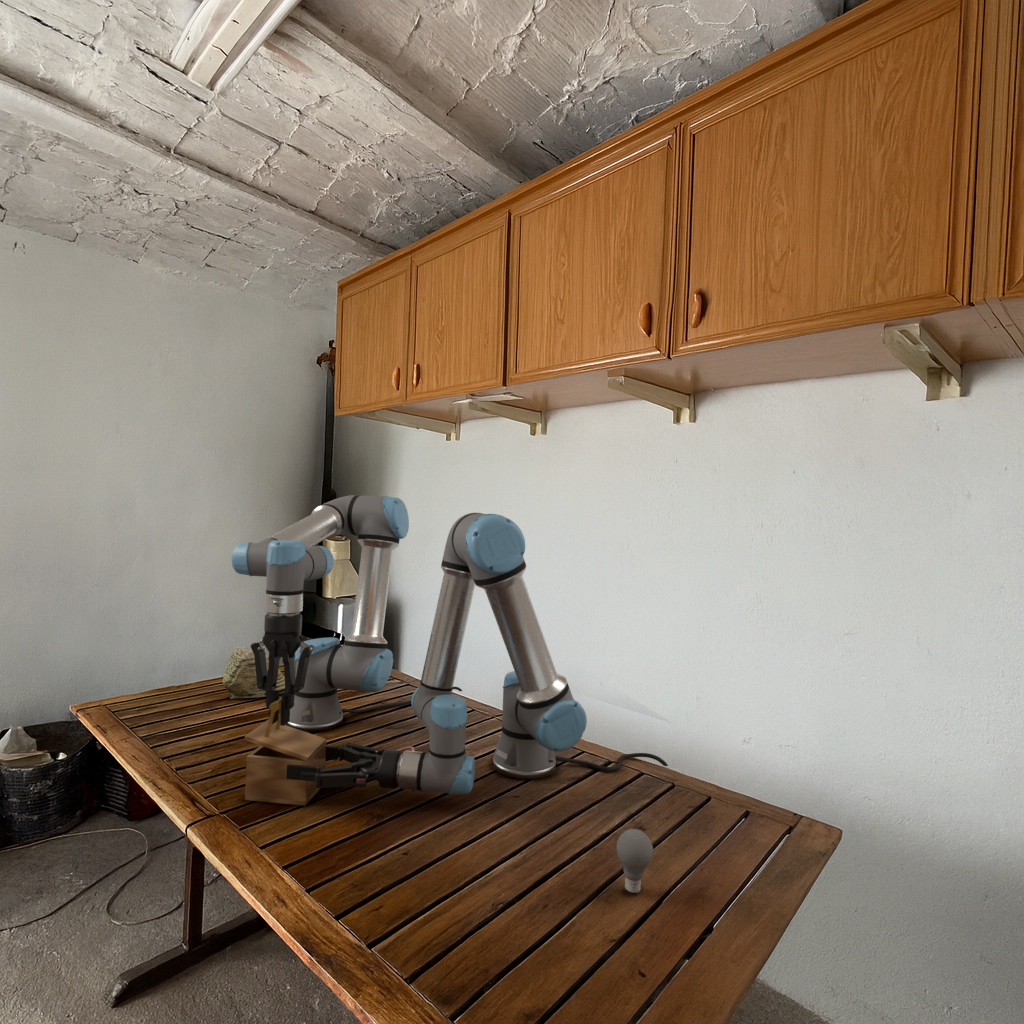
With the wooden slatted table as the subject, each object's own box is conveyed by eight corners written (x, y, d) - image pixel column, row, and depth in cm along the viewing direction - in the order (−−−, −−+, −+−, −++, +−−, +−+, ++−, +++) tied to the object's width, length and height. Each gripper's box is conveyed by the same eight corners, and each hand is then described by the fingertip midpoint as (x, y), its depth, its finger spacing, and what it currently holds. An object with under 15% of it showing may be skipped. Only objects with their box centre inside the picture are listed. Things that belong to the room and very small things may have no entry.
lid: (243, 739, 131) (254, 701, 130) (267, 722, 141) (277, 687, 140) (306, 761, 129) (317, 722, 129) (325, 742, 140) (335, 706, 139)
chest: (244, 800, 131) (246, 756, 131) (268, 778, 141) (269, 738, 141) (305, 805, 130) (307, 761, 129) (324, 783, 140) (326, 742, 140)
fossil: (218, 695, 195) (220, 647, 195) (278, 685, 208) (279, 640, 207) (228, 703, 189) (230, 653, 188) (289, 692, 201) (290, 645, 201)
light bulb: (610, 879, 108) (613, 822, 108) (644, 879, 109) (647, 822, 109) (619, 902, 102) (622, 840, 102) (655, 901, 103) (658, 840, 103)
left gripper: (241, 613, 132) (236, 725, 132) (310, 618, 130) (305, 732, 131) (259, 607, 139) (254, 713, 140) (324, 612, 138) (319, 719, 138)
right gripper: (384, 813, 122) (273, 803, 124) (413, 765, 144) (319, 757, 146) (385, 774, 121) (274, 765, 124) (414, 732, 144) (320, 724, 146)
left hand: (279, 722), depth 135 cm, fingers closed on lid, 2 cm apart
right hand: (298, 760), depth 135 cm, fingers closed on chest, 10 cm apart
